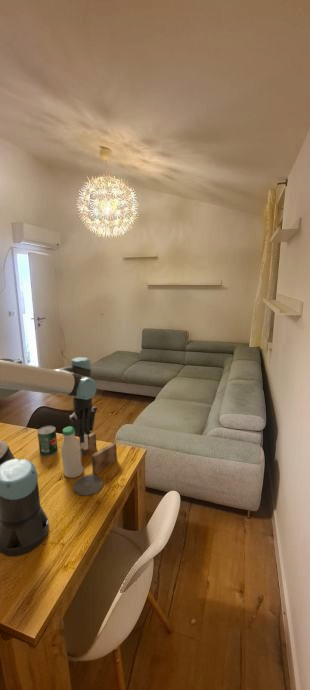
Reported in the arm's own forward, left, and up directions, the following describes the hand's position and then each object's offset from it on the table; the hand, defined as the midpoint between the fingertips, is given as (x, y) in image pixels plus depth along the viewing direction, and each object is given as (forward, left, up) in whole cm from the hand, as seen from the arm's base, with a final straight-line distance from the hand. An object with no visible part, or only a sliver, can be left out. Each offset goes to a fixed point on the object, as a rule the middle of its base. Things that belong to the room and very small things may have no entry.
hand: (84, 448), depth 125 cm
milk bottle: (-6, 0, -8) cm, 10 cm away
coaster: (-7, -11, -8) cm, 15 cm away
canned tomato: (-4, +22, -8) cm, 24 cm away
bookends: (+5, 0, -8) cm, 9 cm away
